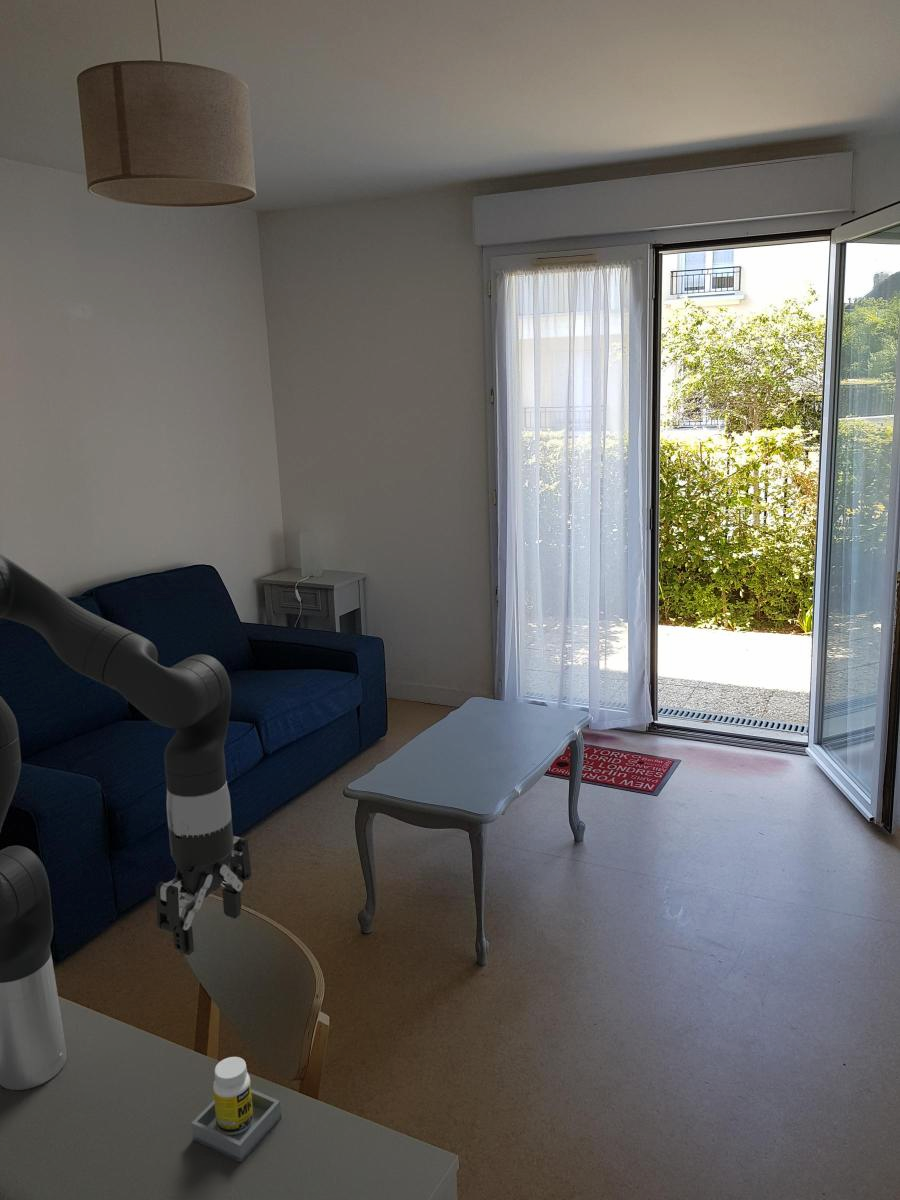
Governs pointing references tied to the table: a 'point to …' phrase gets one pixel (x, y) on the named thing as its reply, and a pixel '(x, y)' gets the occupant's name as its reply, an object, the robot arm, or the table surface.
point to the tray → (242, 1143)
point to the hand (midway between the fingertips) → (209, 933)
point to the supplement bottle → (232, 1096)
